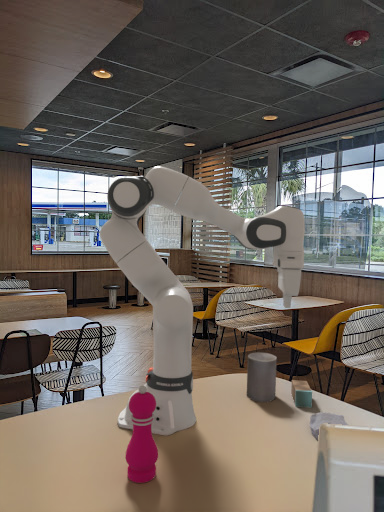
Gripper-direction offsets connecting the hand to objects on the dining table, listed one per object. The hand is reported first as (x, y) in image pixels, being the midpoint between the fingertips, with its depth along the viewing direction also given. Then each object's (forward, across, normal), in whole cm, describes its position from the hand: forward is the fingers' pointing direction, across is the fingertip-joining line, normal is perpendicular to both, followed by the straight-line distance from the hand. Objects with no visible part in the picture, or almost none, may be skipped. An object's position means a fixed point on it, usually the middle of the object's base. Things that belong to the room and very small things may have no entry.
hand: (286, 307), depth 115 cm
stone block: (+33, +8, +11) cm, 36 cm away
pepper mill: (+33, +35, -35) cm, 60 cm away
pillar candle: (+33, -14, -6) cm, 36 cm away
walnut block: (+30, -7, +7) cm, 32 cm away
